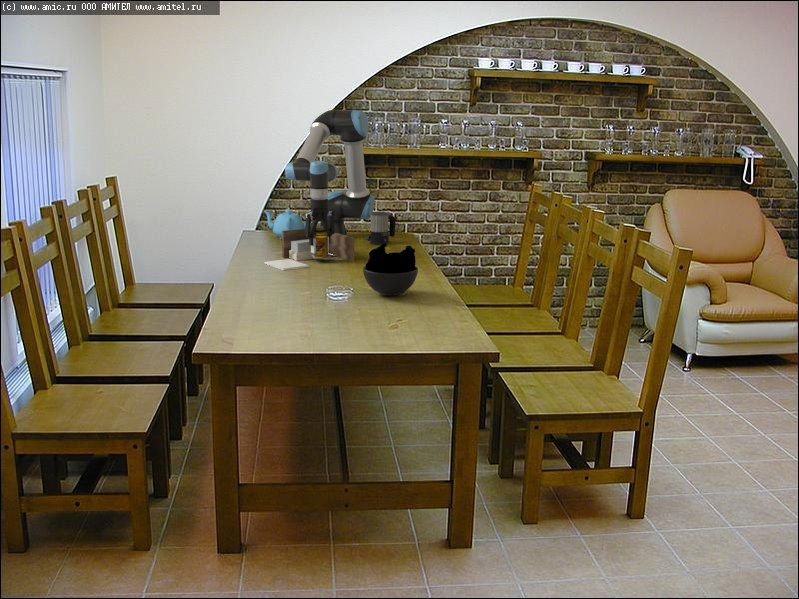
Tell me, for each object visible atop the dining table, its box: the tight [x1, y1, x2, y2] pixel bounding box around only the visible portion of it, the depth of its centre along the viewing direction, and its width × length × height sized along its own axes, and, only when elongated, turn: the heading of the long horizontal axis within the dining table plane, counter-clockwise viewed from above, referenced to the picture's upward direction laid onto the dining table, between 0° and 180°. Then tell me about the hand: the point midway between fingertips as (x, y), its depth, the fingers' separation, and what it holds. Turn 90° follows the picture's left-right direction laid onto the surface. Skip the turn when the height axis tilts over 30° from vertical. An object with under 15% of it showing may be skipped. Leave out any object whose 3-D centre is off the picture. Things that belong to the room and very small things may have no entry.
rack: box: [281, 226, 356, 262], centre depth 375 cm, size 22×23×12 cm
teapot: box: [263, 209, 306, 240], centre depth 425 cm, size 16×20×14 cm
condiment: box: [311, 229, 331, 259], centre depth 370 cm, size 7×8×12 cm
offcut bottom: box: [288, 250, 315, 262], centre depth 379 cm, size 6×14×4 cm, turn 128°
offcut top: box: [291, 239, 311, 252], centre depth 378 cm, size 5×12×4 cm, turn 128°
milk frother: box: [365, 211, 397, 246], centre depth 418 cm, size 14×16×15 cm
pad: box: [264, 258, 310, 271], centre depth 363 cm, size 16×12×1 cm
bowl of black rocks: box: [362, 244, 419, 296], centre depth 313 cm, size 20×20×19 cm
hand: (319, 251), depth 371 cm, fingers closed on condiment, 6 cm apart
